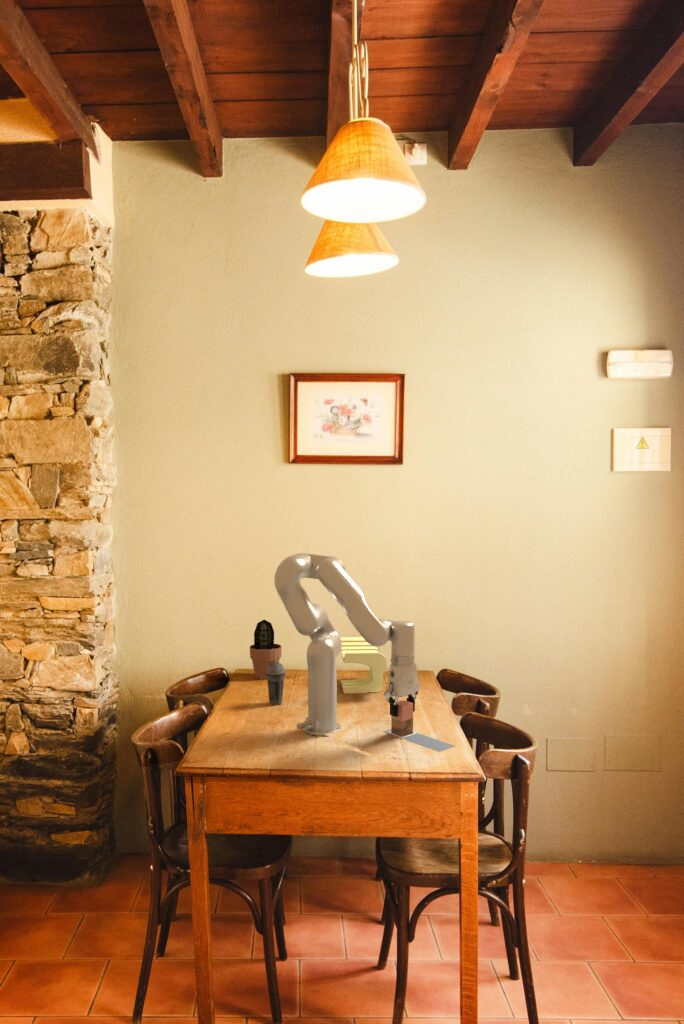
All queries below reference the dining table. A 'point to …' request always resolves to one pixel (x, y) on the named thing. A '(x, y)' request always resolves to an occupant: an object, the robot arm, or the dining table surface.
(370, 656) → the slatted curved stool
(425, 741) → the blueprint mat
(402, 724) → the walnut block
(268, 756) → the dining table surface
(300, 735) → the dining table surface
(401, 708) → the red block
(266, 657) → the potted plant
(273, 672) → the beverage cup
